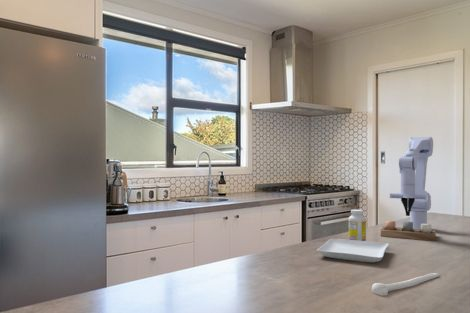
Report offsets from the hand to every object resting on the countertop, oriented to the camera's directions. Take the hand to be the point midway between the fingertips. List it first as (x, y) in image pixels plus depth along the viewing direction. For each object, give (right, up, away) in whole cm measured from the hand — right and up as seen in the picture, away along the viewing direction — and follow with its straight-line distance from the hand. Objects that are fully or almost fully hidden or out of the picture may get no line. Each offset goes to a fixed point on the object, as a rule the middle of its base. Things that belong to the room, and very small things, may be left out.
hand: (407, 215), depth 164 cm
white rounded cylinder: (+6, -7, -3) cm, 10 cm away
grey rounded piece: (0, -6, 0) cm, 6 cm away
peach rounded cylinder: (-6, -7, +3) cm, 10 cm away
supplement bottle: (-26, -9, -11) cm, 29 cm away
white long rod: (-28, -10, -61) cm, 68 cm away
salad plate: (-33, -10, -31) cm, 46 cm away
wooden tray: (0, -9, 0) cm, 9 cm away
